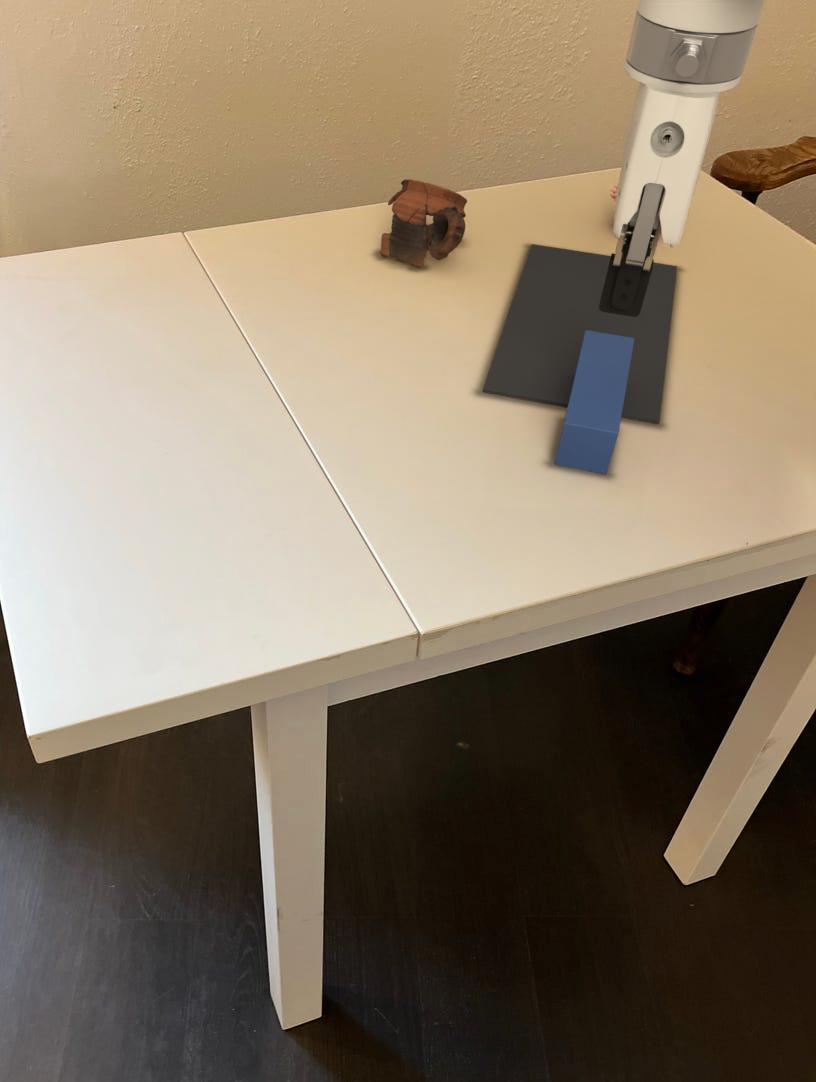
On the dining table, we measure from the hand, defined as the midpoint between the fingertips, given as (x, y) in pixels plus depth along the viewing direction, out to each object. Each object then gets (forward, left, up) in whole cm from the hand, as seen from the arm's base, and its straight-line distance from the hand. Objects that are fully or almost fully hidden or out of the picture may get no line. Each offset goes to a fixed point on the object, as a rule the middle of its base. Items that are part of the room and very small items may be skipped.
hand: (619, 308), depth 75 cm
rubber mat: (+2, -18, -12) cm, 22 cm away
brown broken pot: (+21, -28, -12) cm, 37 cm away
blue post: (0, +6, -10) cm, 11 cm away
